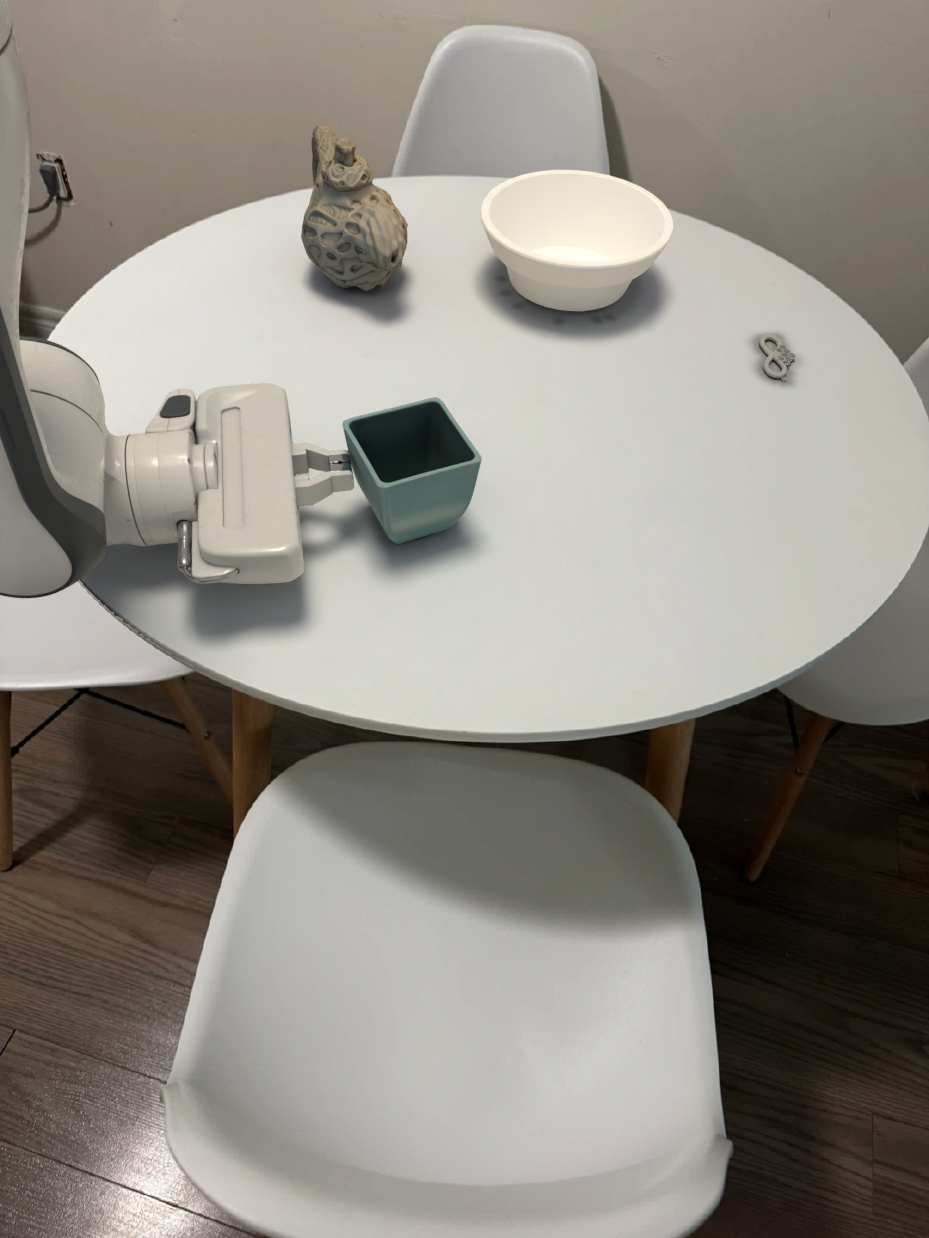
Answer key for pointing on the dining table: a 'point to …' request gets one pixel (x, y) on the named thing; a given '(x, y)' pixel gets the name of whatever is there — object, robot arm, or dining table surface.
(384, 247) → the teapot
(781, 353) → the charm
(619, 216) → the bowl
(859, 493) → the dining table surface
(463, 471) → the flower pot
